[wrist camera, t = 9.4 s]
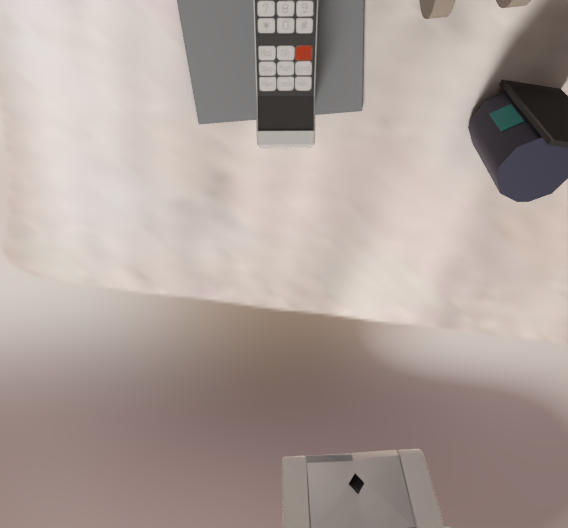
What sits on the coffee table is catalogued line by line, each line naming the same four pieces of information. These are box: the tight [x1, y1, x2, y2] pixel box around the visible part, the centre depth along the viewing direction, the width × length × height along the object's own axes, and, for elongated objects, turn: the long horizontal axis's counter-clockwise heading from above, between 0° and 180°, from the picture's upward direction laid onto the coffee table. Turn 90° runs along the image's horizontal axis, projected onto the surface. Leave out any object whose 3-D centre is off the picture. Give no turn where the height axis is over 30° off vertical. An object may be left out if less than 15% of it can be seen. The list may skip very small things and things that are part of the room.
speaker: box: [468, 80, 568, 202], centre depth 33 cm, size 6×5×9 cm
